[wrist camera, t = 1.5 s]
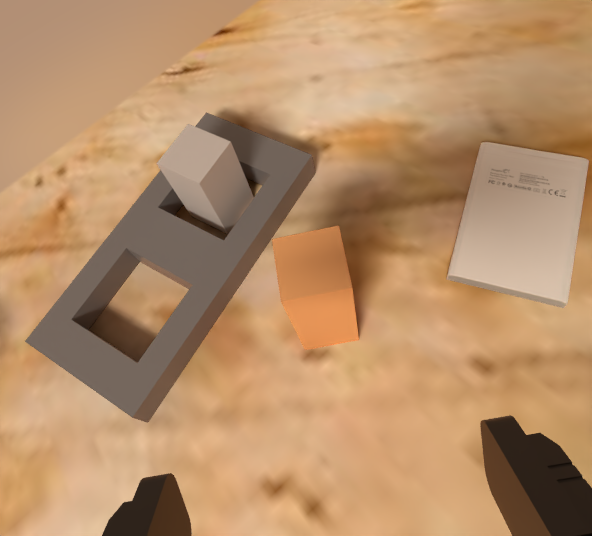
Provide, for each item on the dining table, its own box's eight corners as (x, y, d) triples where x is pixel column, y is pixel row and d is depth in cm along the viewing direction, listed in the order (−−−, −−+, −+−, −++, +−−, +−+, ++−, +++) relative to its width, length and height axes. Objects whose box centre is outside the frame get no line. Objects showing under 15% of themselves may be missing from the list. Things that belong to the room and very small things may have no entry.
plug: (358, 339, 36) (352, 287, 27) (305, 350, 37) (281, 301, 28) (348, 290, 38) (338, 225, 29) (297, 300, 38) (272, 239, 29)
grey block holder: (214, 131, 47) (186, 69, 40) (315, 172, 43) (303, 112, 36) (45, 350, 40) (-24, 319, 33) (147, 422, 36) (94, 404, 29)
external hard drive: (445, 282, 38) (478, 151, 42) (561, 311, 36) (583, 170, 40) (447, 273, 36) (481, 139, 41) (569, 303, 34) (591, 157, 38)
